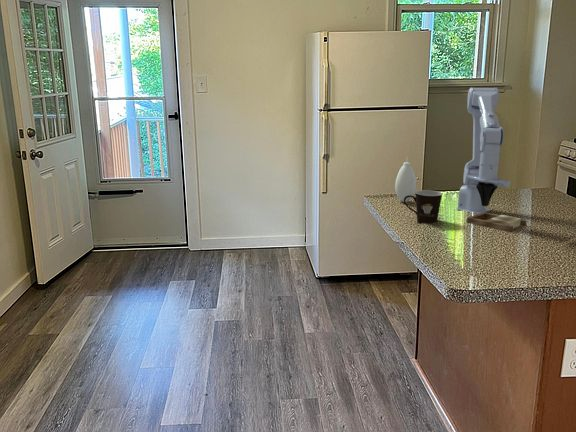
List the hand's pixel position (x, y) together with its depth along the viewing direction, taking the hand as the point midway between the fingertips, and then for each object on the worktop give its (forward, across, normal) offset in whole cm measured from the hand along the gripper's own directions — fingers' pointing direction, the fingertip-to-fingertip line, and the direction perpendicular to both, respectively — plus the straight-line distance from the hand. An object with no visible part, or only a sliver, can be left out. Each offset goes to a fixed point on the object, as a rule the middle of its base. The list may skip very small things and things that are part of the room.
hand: (485, 205), depth 179 cm
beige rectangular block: (+5, +7, 0) cm, 9 cm away
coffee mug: (+6, -15, -13) cm, 21 cm away
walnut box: (+6, +4, 0) cm, 7 cm away
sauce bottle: (+6, -36, +6) cm, 37 cm away
